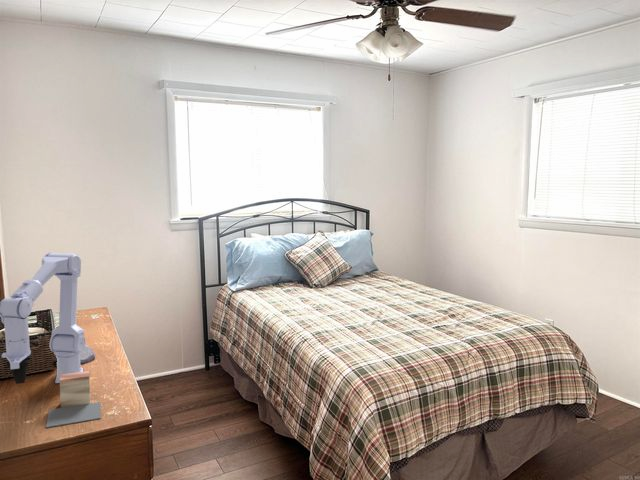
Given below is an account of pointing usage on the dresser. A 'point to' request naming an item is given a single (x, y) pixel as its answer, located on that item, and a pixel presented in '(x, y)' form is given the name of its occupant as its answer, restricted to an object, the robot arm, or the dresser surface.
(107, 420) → the dresser surface
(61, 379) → the birch block
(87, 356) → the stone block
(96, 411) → the mat
